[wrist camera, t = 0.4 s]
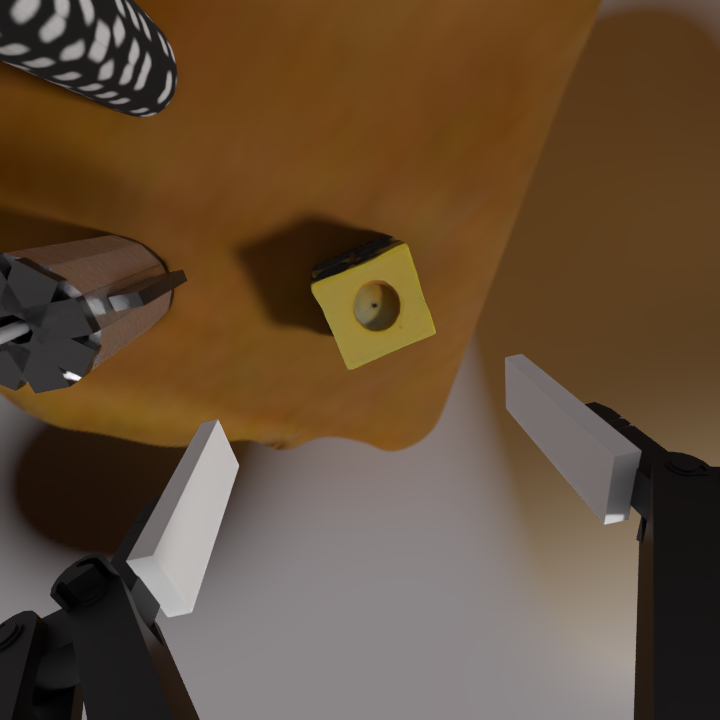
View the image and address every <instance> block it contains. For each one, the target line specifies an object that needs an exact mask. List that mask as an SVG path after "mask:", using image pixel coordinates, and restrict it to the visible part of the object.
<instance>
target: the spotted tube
mask: <svg viewBox="0 0 720 720" xmlns="http://www.w3.org/2000/svg"><path fill="white" fill-rule="evenodd" d="M0 61H3V62H5V63H7V64H10V65H12V66H14V67H17V68H19V69H21V70H24V71H26V72H28V73H31V74H33V75H35V76H38V77H40V78H42V79H45V80H47V81H50V82H52V83H54V84H57V85H59V86H61V87H64V88H66V89H68V90H71V91H73V92H75V93H78V94H80V95H82V96H85V97H87V98H89V99H92V100H94V101H97V102H99V103H101V104H104V105H106V106H108V107H111V108H113V109H115V110H118V111H120V112H122V113H125V114H128V115H131V116H137V117H146V116H151V115H154V114H157V113H159V112H160V111H161V110H163V109H164V108H165V107H166V106H167V105H168V104H169V102H170V101H171V99H172V97H173V95H174V92H175V88H176V83H177V69H176V62H175V58H174V54H173V52H172V49H171V47H170V44H169V42H168V40H167V39H166V37H165V36H164V34H163V32H162V31H161V30H160V29H159V27H158V26H157V25H156V24H155V23H154V22H153V21H152V19H151V18H150V17H149V16H148V15H147V14H146V13H145V12H144V11H143V10H142V9H141V8H140V7H139V6H138V5H137V4H136V3H135V2H134V1H133V0H0Z"/></svg>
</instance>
